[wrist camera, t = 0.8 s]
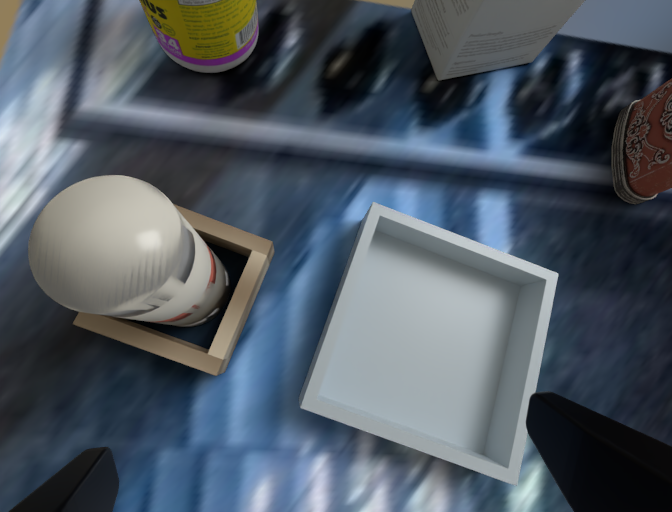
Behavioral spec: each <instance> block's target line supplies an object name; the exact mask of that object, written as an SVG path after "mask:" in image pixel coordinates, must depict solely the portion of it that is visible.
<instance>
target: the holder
mask: <svg viewBox="0 0 672 512" xmlns="http://www.w3.org/2000/svg"><path fill="white" fill-rule="evenodd" d="M173 205H174V204H173ZM174 206H175V207H176V208H177V210H178V211H179V212H180V213H181V214H182V216H183V217H184V218H185V219H186V220H187V221H188V223H189V224H190V225H191V226H192V227H193V229H194V230H195V231H196V232H197V233H198V235H199V236H200V237H201V238H202V239H203V240H204V241H207V242H209V243H212V244H215V245H217V246H220V247H223V248H225V249H228V250H231V251H233V252H236V253H239V254H241V255H244V256H247V257H249V259H248V262H247V264H246V266H245V269H244V271H243V273H242V276H241V278H240V280H239V282H238V285H237V287H236V289H235V292H234V294H233V296H232V299H231V301H230V303H229V306H228V308H227V310H226V312H225V315H224V317H223V319H222V322H221V324H220V326H219V329H218V331H217V333H216V336H215V338H214V340H213V342H212V345H211V347H210V349H206V348H203V347H200V346H198V345H195V344H192V343H189V342H187V341H184V340H181V339H178V338H176V337H173V336H170V335H167V334H165V333H162V332H159V331H156V330H154V329H151V328H148V327H145V326H143V325H140V324H137V323H134V322H132V321H129V320H126V319H123V318H119V317H112V316H105V315H98V314H91V313H84V312H79V313H78V315H77V317H76V319H75V320H74V322H73V324H74V325H77V326H79V327H82V328H85V329H88V330H90V331H93V332H96V333H99V334H102V335H104V336H107V337H110V338H113V339H115V340H118V341H121V342H124V343H126V344H129V345H132V346H135V347H138V348H140V349H143V350H146V351H149V352H151V353H154V354H157V355H160V356H162V357H165V358H168V359H171V360H174V361H176V362H179V363H182V364H185V365H187V366H190V367H193V368H196V369H198V370H201V371H204V372H207V373H210V374H212V375H215V376H217V375H219V374H221V373H223V372H225V370H226V368H227V366H228V363H229V361H230V358H231V356H232V354H233V351H234V349H235V346H236V344H237V341H238V339H239V337H240V334H241V332H242V329H243V327H244V325H245V322H246V320H247V317H248V315H249V313H250V310H251V308H252V305H253V303H254V301H255V298H256V296H257V293H258V291H259V289H260V286H261V284H262V281H263V279H264V276H265V274H266V272H267V269H268V267H269V264H270V262H271V260H272V257H273V255H274V247H273V242H272V241H269V240H267V239H264V238H261V237H259V236H256V235H253V234H251V233H248V232H245V231H243V230H240V229H237V228H235V227H232V226H230V225H227V224H224V223H222V222H219V221H216V220H214V219H211V218H208V217H206V216H203V215H200V214H198V213H195V212H192V211H190V210H187V209H185V208H182V207H179V206H177V205H174Z"/></svg>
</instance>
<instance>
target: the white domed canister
mask: <svg viewBox="0 0 672 512" xmlns="http://www.w3.org/2000/svg"><path fill="white" fill-rule="evenodd" d="M28 255H29V263H30V267H31V271H32V273H33V275H34V278H35V280H36V281H37V283H38V284H39V286H40V287H41V288H42V290H43V291H44V292H45V293H46V294H47V295H48V296H49V297H51V298H52V299H53V300H54V301H56V302H57V303H59V304H61V305H63V306H65V307H67V308H69V309H72V310H76V311H79V312H84V313H91V314H98V315H105V316H112V317H119V318H126V319H133V320H140V321H147V322H154V323H161V324H168V325H175V326H182V327H194V326H199V325H202V324H205V323H207V322H209V321H211V320H212V319H214V318H215V317H216V316H217V315H218V314H219V313H220V312H221V311H222V310H223V308H224V307H225V305H226V303H227V301H228V299H229V296H230V291H231V281H230V276H229V273H228V271H227V269H226V267H225V266H224V264H223V263H222V262H221V261H220V260H219V258H218V257H217V256H216V255H215V254H214V252H213V251H212V250H211V249H210V248H209V247H208V245H207V244H206V243H205V242H204V241H203V239H202V238H201V237H200V236H199V235H198V233H197V232H196V231H195V230H194V229H193V227H192V226H191V225H190V224H189V223H188V221H187V220H186V219H185V218H184V217H183V216H182V214H181V213H180V212H179V211H178V210H177V208H176V207H175V206H174V205H173V204H172V202H171V201H170V200H169V199H168V198H167V197H166V196H165V195H164V194H163V193H162V192H161V191H160V190H158V189H157V188H156V187H154V186H152V185H151V184H149V183H147V182H144V181H142V180H139V179H136V178H133V177H128V176H121V175H105V176H98V177H93V178H89V179H86V180H83V181H80V182H78V183H75V184H74V185H72V186H70V187H68V188H66V189H65V190H63V191H62V192H60V193H59V194H58V195H57V196H55V197H54V198H53V199H52V200H51V201H50V202H49V203H48V204H47V205H46V206H45V207H44V209H43V210H42V212H41V213H40V215H39V216H38V218H37V220H36V222H35V224H34V226H33V229H32V231H31V235H30V240H29V248H28Z"/></svg>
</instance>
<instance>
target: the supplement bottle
mask: <svg viewBox="0 0 672 512" xmlns="http://www.w3.org/2000/svg"><path fill="white" fill-rule="evenodd" d="M139 1H140V3H141V5H142V7H143V10H144V12H145V14H146V17H147V19H148V21H149V23H150V25H151V28H152V30H153V32H154V34H155V36H156V39H157V41H158V43H159V44H160V46H161V48H162V49H163V50H164V52H165V53H166V54H167V55H168V56H169V57H170V58H171V59H172V60H174V61H175V62H177V63H178V64H180V65H181V66H183V67H186V68H188V69H190V70H193V71H198V72H205V73H217V72H222V71H226V70H229V69H231V68H233V67H236V66H237V65H239V64H241V63H242V62H243V61H245V60H246V59H247V58H248V57H249V55H250V54H251V53H252V51H253V49H254V48H255V45H256V42H257V39H258V15H257V4H256V0H139Z"/></svg>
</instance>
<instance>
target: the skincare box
mask: <svg viewBox="0 0 672 512" xmlns="http://www.w3.org/2000/svg"><path fill="white" fill-rule="evenodd" d="M584 1H585V0H415V2H414V5H413V7H412V10H411V11H412V15H413V17H414V20H415V23H416V25H417V28H418V30H419V33H420V35H421V38H422V41H423V43H424V46H425V49H426V51H427V54H428V56H429V59H430V62H431V64H432V67H433V70H434V72H435V75H436V78H437V80H445V79H449V78H455V77H460V76H465V75H470V74H475V73H480V72H485V71H491V70H496V69H501V68H506V67H511V66H516V65H521V64H525V63H530V62H532V61H533V60H534V59H535V58H536V56H537V55H538V54H539V53H540V52H541V51H542V50H543V48H544V47H545V46H546V45H547V44H548V43H549V41H550V40H551V39H552V38H553V37H554V36H555V34H556V33H557V32H558V31H559V30H560V29H561V27H562V26H563V25H564V24H565V23H566V22H567V20H568V19H569V18H570V17H571V16H572V15H573V14H574V13H575V11H576V10H577V9H578V8H579V7H580V6H581V4H582V3H583V2H584Z"/></svg>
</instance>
